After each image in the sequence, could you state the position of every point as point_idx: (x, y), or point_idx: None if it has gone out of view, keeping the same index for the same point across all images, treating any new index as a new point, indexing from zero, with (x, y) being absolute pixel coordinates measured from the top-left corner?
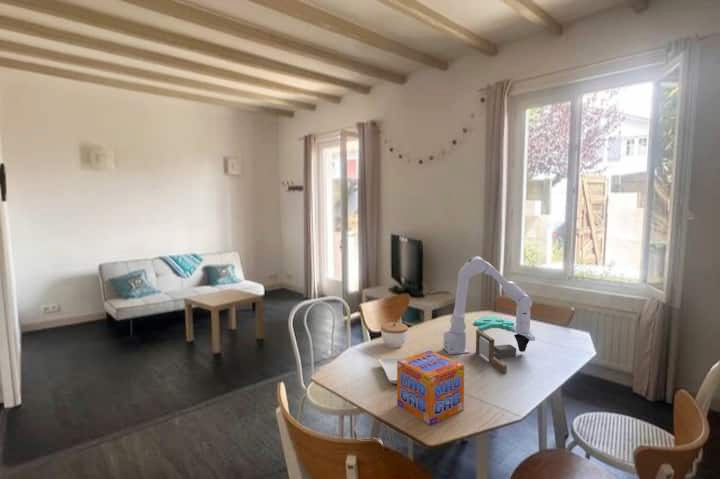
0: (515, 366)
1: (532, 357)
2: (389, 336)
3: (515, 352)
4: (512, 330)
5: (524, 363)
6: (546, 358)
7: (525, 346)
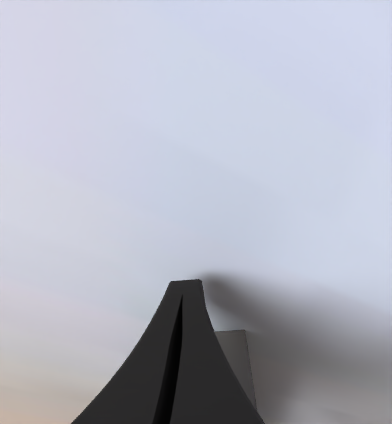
0: (385, 379)
1: (277, 225)
2: None
3: (250, 372)
4: None
5: (368, 326)
6: (348, 90)
7: (204, 325)
